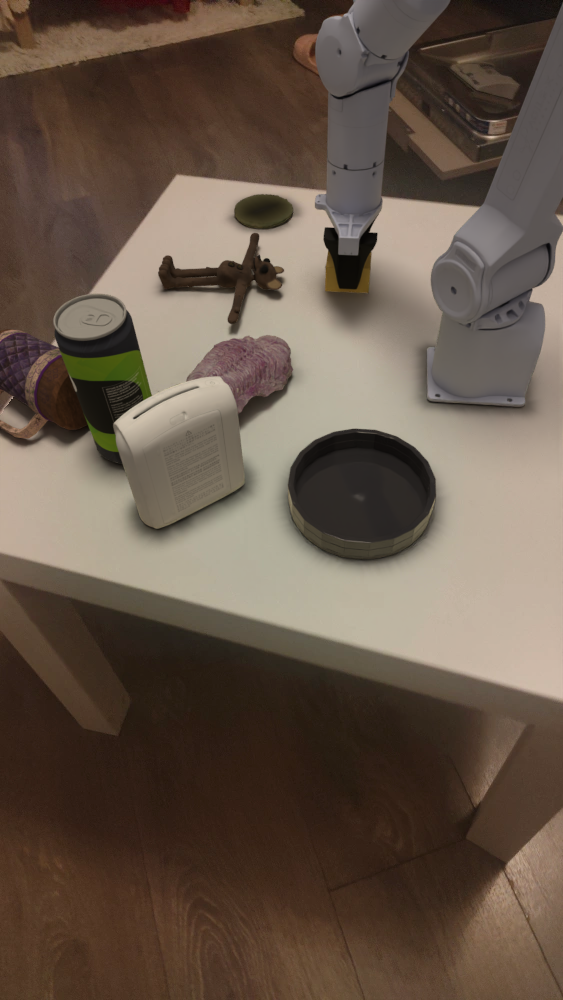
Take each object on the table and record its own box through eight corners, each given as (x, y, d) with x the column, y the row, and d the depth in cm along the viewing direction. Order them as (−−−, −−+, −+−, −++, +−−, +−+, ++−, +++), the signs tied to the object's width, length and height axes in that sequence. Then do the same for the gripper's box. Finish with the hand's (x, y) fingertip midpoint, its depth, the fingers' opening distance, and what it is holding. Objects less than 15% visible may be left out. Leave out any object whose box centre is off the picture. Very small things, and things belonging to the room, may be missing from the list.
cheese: (369, 276, 78) (371, 251, 75) (368, 293, 76) (370, 268, 73) (327, 274, 78) (328, 249, 76) (325, 291, 76) (325, 266, 74)
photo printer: (229, 456, 62) (214, 354, 53) (253, 485, 60) (242, 383, 50) (131, 506, 59) (96, 406, 49) (152, 538, 57) (120, 441, 47)
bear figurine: (176, 220, 83) (289, 212, 80) (184, 251, 86) (293, 245, 84) (140, 306, 72) (269, 301, 70) (151, 338, 76) (275, 334, 73)
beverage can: (170, 424, 65) (139, 294, 53) (151, 472, 61) (113, 343, 49) (111, 417, 66) (67, 288, 54) (88, 464, 62) (36, 336, 50)
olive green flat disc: (283, 227, 85) (283, 232, 86) (300, 198, 90) (300, 203, 91) (225, 219, 87) (226, 224, 88) (245, 190, 92) (246, 196, 92)
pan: (430, 452, 62) (434, 433, 60) (432, 566, 54) (437, 548, 52) (297, 443, 63) (297, 424, 61) (281, 552, 56) (279, 535, 54)
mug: (122, 380, 66) (43, 342, 71) (79, 348, 59) (-5, 308, 64) (70, 469, 65) (-5, 424, 70) (21, 446, 59) (-59, 398, 64)
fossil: (166, 415, 66) (156, 375, 62) (252, 340, 73) (248, 300, 69) (229, 448, 63) (222, 408, 59) (313, 367, 70) (312, 326, 66)
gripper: (322, 123, 70) (320, 241, 81) (308, 192, 61) (308, 313, 72) (388, 125, 70) (378, 243, 80) (384, 194, 61) (373, 317, 72)
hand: (349, 277), depth 76 cm, fingers closed on cheese, 3 cm apart
